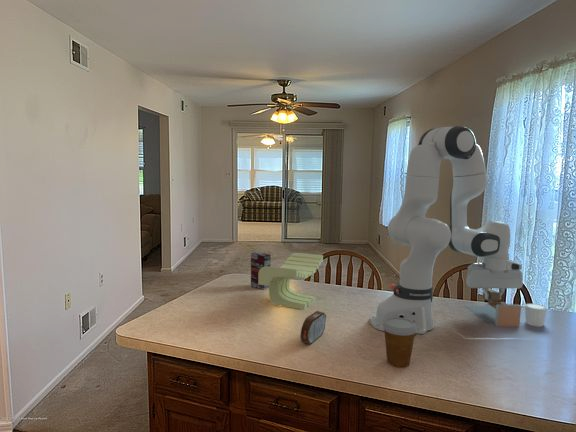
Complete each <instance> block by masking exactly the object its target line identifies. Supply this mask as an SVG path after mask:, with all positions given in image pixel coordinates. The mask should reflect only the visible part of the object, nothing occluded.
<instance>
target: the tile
mask: <svg viewBox="0 0 576 432" xmlns="http://www.w3.org/2000/svg"><path fill="white" fill-rule="evenodd" d="M521 311H522V305H520V304H512V303H511V304H510V303H509V304H508V303H506V304H496V317H495V323H494V325H495V326H496V327H520V323H521V313H522V312H521Z"/></svg>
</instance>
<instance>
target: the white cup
mask: <svg viewBox="0 0 576 432" xmlns="http://www.w3.org/2000/svg"><path fill="white" fill-rule="evenodd" d="M524 306H525V307H524V308H525V309H524V311H525V312H524V313H525V316H524V317H525V324H527V325H529V326H531V327H532V326H533V327H543V326H544V325H545V319H546V316H547V309H548V307H547V306H545V305H542V304H538V303H525V304H524Z"/></svg>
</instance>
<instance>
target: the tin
mask: <svg viewBox="0 0 576 432" xmlns="http://www.w3.org/2000/svg"><path fill="white" fill-rule="evenodd" d="M326 320H327V315H326V313H325V312H322V311H319V310H316V311H314V312H313V313H311V314H309V315H308V316H307V317H306V318H305V319H304V321H303V323H302V325H301V329H300V341H301V342H302V343H303V344H308V345H312V344H313V343H315V341H317V340H318V339H319V338H320V337H321V336H322V335H323V334H324V331H325V329H326V328H325V327H326V323H327V321H326Z"/></svg>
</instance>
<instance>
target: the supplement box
mask: <svg viewBox="0 0 576 432" xmlns="http://www.w3.org/2000/svg"><path fill="white" fill-rule="evenodd" d="M271 256H272V255H271V254H269V253H265V252H259V251H256V252H252V253H250V287H251V286H253V287H252V288H256V287H257V288H256V289H259V288H261V289H260V290H263V289H265V290H268V289H269V287H268V286H267V285H259V284H258V273H259V270H260V269H261V268H262V267H264V266H268V267H271V259H272V257H271ZM267 288H268V289H267Z"/></svg>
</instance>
